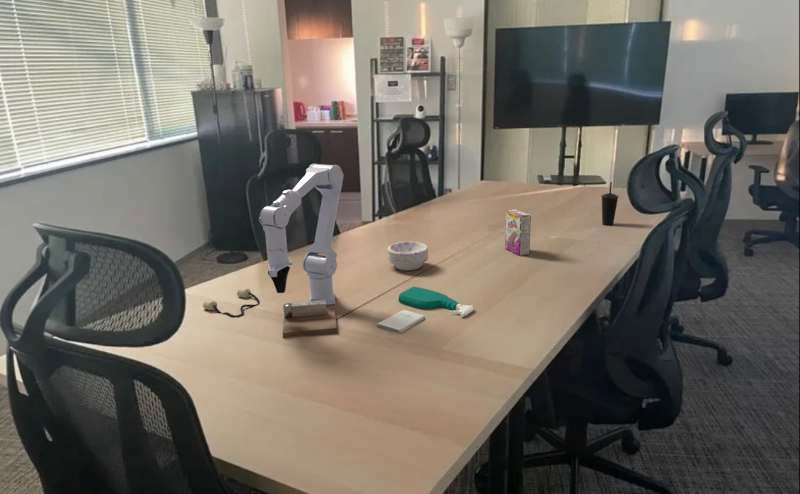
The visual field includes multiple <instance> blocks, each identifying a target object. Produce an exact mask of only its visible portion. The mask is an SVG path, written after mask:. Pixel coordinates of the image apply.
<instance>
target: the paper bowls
mask: <svg viewBox="0 0 800 494" xmlns="http://www.w3.org/2000/svg"><path fill="white" fill-rule="evenodd" d="M428 260H429V247H428V245H427V244H425V243H422V242H418V241H417V242H416V241H400V242H396V243H392V244H390V245H389V246H388V247H387V261H388V262H389V263H390V264H392V265H393V266H394V268H396V269H397V270H400V271H414V270H418V269H420V268H421V267H423V264H424V263H426V262H427V261H428Z"/></svg>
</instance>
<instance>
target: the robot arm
mask: <svg viewBox="0 0 800 494" xmlns="http://www.w3.org/2000/svg"><path fill="white" fill-rule="evenodd" d="M344 176H345V175H344V172H343V170H342V168H341V167H340V165H338V164H320V163H319V164H318V163H312V164H310V165H309V166H308V168H306V170H305V175H304V176H302V178H301V179H300V180H299V181H298V183H296V185H295V186H294V187H293V188H292V189H286V190H284V191H282V194H280V196H279V197H278V198H277V199H276V200H274V201H273V202H272V203H271V205H266V206H264V207H263V208H262V209H261V211H260V213H259V217H258V221H259V223H260V224H261V226H262V229H263V230H262V231H263V232H264V234H265V243H266V244H265V245H266V253H267V267H268V271H267V275H268V277H269V278H270V279H271V280H272V283H273V285H274V287H275V291H276V293H277V294H284V293H285V292H286V288H287V279H288V275H289V271H290V269H291V267H290V266H292V265H293V264H294V262H293V261H292V260H289V254H288V252H289V251H288V243H287V229H286V226H287V225H288V224H289V221H290V217H291V216H292V214H293V213H294V212H295V211H296V210H297V209H298V208H299V207H300V206H301V204H302V198H303V197H304V196H306V195H307V194H308V193H309V192H310V191H311V190H313V189H314V188H315V189H316V190H317V191H318V192H320V194H321V197H322V198H321V204H320V208H319V213H318V220H317V226H316V230H315V236H314V242H313V244H311V245H310V246H309V247H308V248H307V249H306V253H305V256H304V257H303V260H302V269H303V271H304V272H305V273H306V274H307V275H306V276H308V277H309V278H308V279H309V280H308V281H309V290H310V293H309V301H311V299H317V298H321V300H326V306H329V305H336V299H335V298H336V297H335V292H334V288H333V287H334V286H333V276H334V275H335V273H336V271H337V269H338V268H337V267H338V263H337V255H338V253H337V252H336V251H335V250H334V249H333V247H332V242H333V236H334V231H335V230H334V229H335V224H336V219H337V214H338V208H339V201H340V196H341V192H342V187H343V181H344Z"/></svg>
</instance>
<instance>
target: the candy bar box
mask: <svg viewBox="0 0 800 494" xmlns="http://www.w3.org/2000/svg"><path fill="white" fill-rule="evenodd" d="M531 220H532V215H531V214H529V213H526V212H523V211H521V210H519V209H516V208H515V209H508V210H505V239H504V240H505V241H504V242H505V243H504V245H505V246H504V249H505V250H507V251H509V252H511V253H513V254H515V255H517V256H518V257H519V256H520V257H523V256H527V255H531V253H530V251H531V250H530V249H531V222H532V221H531Z"/></svg>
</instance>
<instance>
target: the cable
mask: <svg viewBox="0 0 800 494" xmlns="http://www.w3.org/2000/svg"><path fill="white" fill-rule="evenodd" d="M236 296H238V297H239V298H243V299H248V298H249V297H252V298H253V299H255V300H256V302H257V303H256V304H242V305H241V307H240V308H239V309H240V313H239V314H235V315H233V314H231V313H230V312H227V311H226V312H225V311H224V312H222V311H221V310H219V309H218V303H217V301H215V300H208V299H206V300H205V301H204V302H203V304H202V308H203V309H204V308H205V309H204V310H206V309H208V310H207V311H210V310H214V311H215V312H216V313H218V312H219V313H223V314H222V315H226V314H227V315H226V316H229V317H230V316H231V318H233V317H237V318H240V316H241V317H243V316H244V313H245V312H244V308H253V307H257V306H259V305H260V304H261V301H260V299H259V298H258V296H257V295H255V294H253V293H252V292H251V289H250V288H246V287H245V288H241V287H239V289H238V290H237V293H236ZM219 313H218V314H219Z"/></svg>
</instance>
